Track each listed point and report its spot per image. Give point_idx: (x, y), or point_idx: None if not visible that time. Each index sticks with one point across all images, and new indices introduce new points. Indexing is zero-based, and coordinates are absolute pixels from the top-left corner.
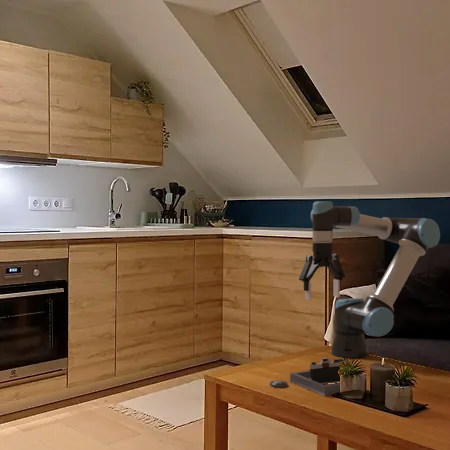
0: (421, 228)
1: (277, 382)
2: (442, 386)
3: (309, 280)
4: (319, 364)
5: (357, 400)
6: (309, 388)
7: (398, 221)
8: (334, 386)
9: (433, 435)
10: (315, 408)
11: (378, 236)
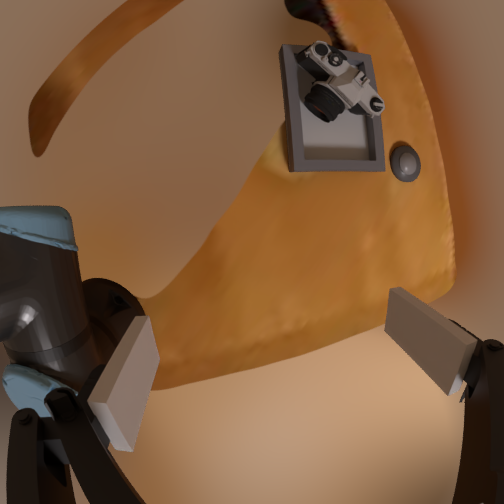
0: None
1: (411, 162)
2: (105, 21)
3: (487, 351)
4: (370, 86)
5: (318, 17)
6: None
7: None
8: (346, 51)
9: None
10: (400, 37)
11: None
